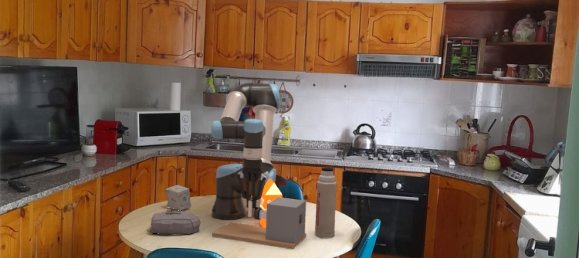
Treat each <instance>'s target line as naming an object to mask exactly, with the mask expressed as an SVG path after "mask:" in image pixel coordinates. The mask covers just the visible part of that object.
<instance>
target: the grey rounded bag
mask: <svg viewBox="0 0 579 258" xmlns="http://www.w3.org/2000/svg"><path fill="white" fill-rule="evenodd" d="M150 221H151V222H150V231H151V233H152V234H153V233H159V234H158V235H160V234H184V235H189V234H194V233H197V232H198V231H199V229H200V226H201V223H202V222H201V219H200V217H199V216H198V215H196V214H195V213H193V212H190V211H184V210H182V211H177V210H174V209H171V210H166V211H160V212H155V213H154V214H153V215H152V217H151V220H150Z"/></svg>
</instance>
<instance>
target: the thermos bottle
mask: <svg viewBox="0 0 579 258" xmlns="http://www.w3.org/2000/svg"><path fill="white" fill-rule="evenodd" d="M316 183H317V184H316V197H315V198H316V203H315V205H316V206H315V224H314V228H315V229H314V235H315V236H316V237H318V238H322V239H330V238H333V237H335V229H336V227H335V225H336V209H337V208H336V206H337V186H338V185H337V183H338V182H337V181H336V176H335V175H334V168H333V167H328V166H327V167H326V166H325V167H322V168H321V173H320V174H319V176H318V180H317V181H316Z"/></svg>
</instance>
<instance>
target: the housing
mask: <svg viewBox="0 0 579 258" xmlns="http://www.w3.org/2000/svg"><path fill="white" fill-rule="evenodd" d="M306 211H307V200H302V199H295V198H287V197H282V198H280V197H278V198H276V199H274V200H273V201H271V202H269V203H267V210H266V227H262V226H259V225H258V226H257V225H250V224H244V223H238V222H229V223H227V224H225V225H224V226H221V227H220V228H219V229H217V230H215V231H213V232H212V237H213V236H214V237H216V238H219V237H220V238H221V239H227V240H233V241H237V242H238V241H239V242H246V243H251V244H258V245H265V246H270V247H271V246H272V247H278V248H284V249H291V250H294V249H295V248H296V247H297V246H298V245H299V244H300V243H301V242H303V241H304V240H305V238H307V233H306V213H307V212H306ZM299 215H300V220H299Z"/></svg>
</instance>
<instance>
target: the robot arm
mask: <svg viewBox="0 0 579 258" xmlns="http://www.w3.org/2000/svg"><path fill="white" fill-rule="evenodd" d="M280 98H281V97H280V89H279V85H278V84H276V83H270V82H269V83H262V82H261V83H260V82H257V83H256V82H244V83H240V84H237V86H235V87H233V88H232V89H231V90H230V91H229V92H228V93H227V96H226V99H225V103H226V104H225V106H224V109H223V111H222V114H221V117H220V118H219V119H218V120H213V121H212V123H211V126H210V127H211V129H210V130H211V133H210V134H211V137H212V138H213V139H220V140H242V141H243V154H242V155H243V160H242V162H243V163H230V164H224V165H220V166H218V167H217V169H216V175H215V181H216V182H215V183H216V184H215V189H216V190H215V201H214V203H213V205H212V209H211V217H213V218H214V219H219V220H227V221H228V220H239V219H242V218H244V217H245V216H246V209H245V205H246V208H247V210H248V211H247V212H248V213H247V217H248V218H252V217H253V218H254V216H253V213H254V209H255V208H256V207H257V201H259V200H261V197H262V193H263V190H264V186H265V185H266V183H267V182H268V180H269V179H271V180H272V181H273V182H274V183H275V179H276V175H277V169H276V168H274V164H273V163H272V162H271V157H272V145H273V144H272V142H273V129H274V128H273V127H274V125H273V124H274V115H275V114H276V113H277V112H278V109H280V108H281V101H280V100H281V99H280ZM244 108H252V111H253V113H254V114H255V115H254V118H247V119H245V120H244V121H240V120H239V119H240V116H241V114H242V110H243V109H244ZM243 199H245V200H246V204H245V205H244V202H243Z"/></svg>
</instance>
